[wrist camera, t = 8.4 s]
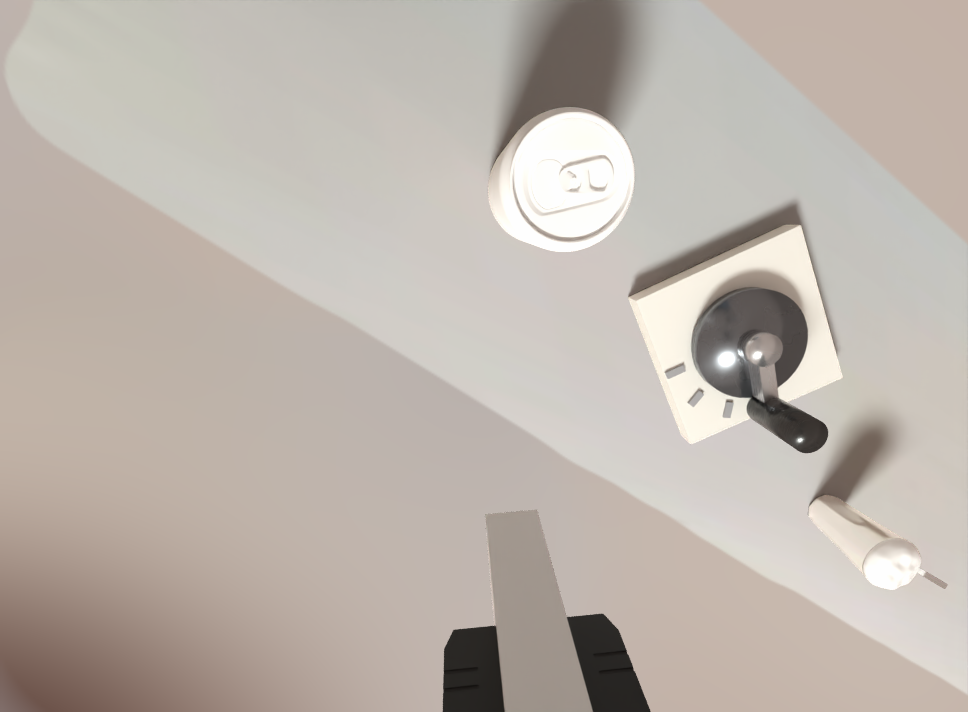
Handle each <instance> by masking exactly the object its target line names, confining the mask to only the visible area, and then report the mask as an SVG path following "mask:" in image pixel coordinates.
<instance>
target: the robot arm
mask: <svg viewBox="0 0 968 712" xmlns="http://www.w3.org/2000/svg"><path fill="white" fill-rule="evenodd" d="M485 516H486V530H487V543H488V556H489V569H490V582H491V595H492V605H493V616H494V626H488V627H478V628H468V629H458V630H453V632H452V635H451V636H450V639H449V641H448V642H447V645H446V647H445V649H444V683H443V689H444V693H443V712H650V709H649V706H648V704H647V701H646V699H645V697H644V694H643V691H642V689H641V686H640V683H639V681H638V678H637V676H636V673H635V672H634V670H633V666H632V663H631V661H630V658H629V655H628V654H627V650H626V648H625V645H624V643H623V640H622V638H621V635H620V633H619V630H618V629H617V628H616V627H615V626H614V625H613V624H612V623H611V622H610V621H609V619H608V618H607V617H606V616H605V615H604V614H594V615H585V616H574V617H566V613H565V609H564V606H563V602H562V598H561V595H560V591H559V587H558V584H557V580H556V577H555V573H554V569H553V566H552V562H551V559H550V555H549V551H548V548H547V544H546V541H545V537H544V534H543V530H542V526H541V523H540V519H539V515H538V512H537V510H528V511H517V512H506V513H495V514H486V515H485Z"/></svg>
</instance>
